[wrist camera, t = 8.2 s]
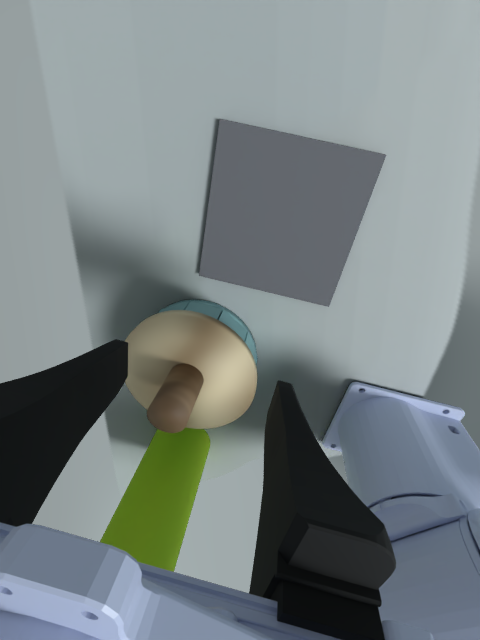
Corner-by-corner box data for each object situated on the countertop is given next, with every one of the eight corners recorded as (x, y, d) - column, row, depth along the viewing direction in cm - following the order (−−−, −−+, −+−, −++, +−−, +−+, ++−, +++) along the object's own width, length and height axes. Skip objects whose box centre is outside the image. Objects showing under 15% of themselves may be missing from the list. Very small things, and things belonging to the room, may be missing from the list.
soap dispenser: (189, 469, 33) (77, 800, 16) (146, 430, 32) (-34, 758, 14) (227, 452, 31) (147, 817, 14) (184, 409, 29) (26, 769, 12)
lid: (273, 332, 20) (269, 376, 16) (240, 435, 25) (230, 489, 21) (127, 293, 20) (84, 325, 16) (123, 402, 25) (89, 449, 21)
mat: (384, 155, 17) (386, 154, 17) (328, 304, 22) (328, 306, 22) (221, 119, 18) (219, 118, 17) (200, 273, 22) (198, 275, 22)
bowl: (268, 315, 23) (265, 338, 20) (244, 405, 28) (238, 434, 25) (150, 286, 24) (129, 304, 21) (145, 379, 28) (128, 405, 25)
